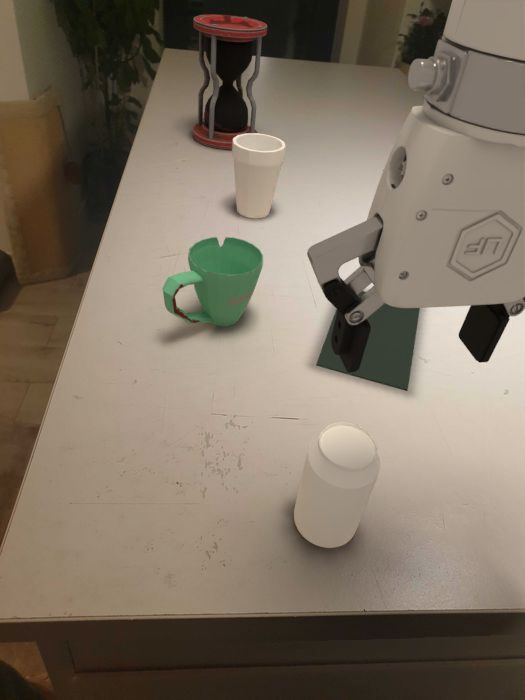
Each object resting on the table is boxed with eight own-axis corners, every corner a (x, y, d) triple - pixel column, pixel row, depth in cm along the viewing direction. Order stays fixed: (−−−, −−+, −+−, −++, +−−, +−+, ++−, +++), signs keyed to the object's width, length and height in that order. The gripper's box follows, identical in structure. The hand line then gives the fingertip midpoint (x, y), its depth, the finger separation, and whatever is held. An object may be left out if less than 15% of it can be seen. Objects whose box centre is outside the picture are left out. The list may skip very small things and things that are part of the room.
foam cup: (279, 204, 105) (288, 137, 96) (274, 225, 98) (283, 155, 89) (232, 197, 105) (236, 130, 97) (224, 217, 98) (228, 147, 90)
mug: (225, 288, 80) (229, 229, 74) (271, 319, 75) (279, 259, 69) (145, 324, 72) (141, 261, 65) (190, 362, 67) (190, 298, 60)
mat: (407, 390, 67) (407, 389, 67) (316, 365, 69) (316, 364, 69) (419, 306, 82) (420, 305, 82) (344, 287, 84) (344, 286, 84)
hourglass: (268, 136, 134) (279, 23, 118) (239, 155, 122) (247, 32, 106) (212, 122, 138) (216, 11, 122) (179, 139, 127) (178, 18, 111)
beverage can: (283, 502, 53) (300, 423, 45) (339, 489, 54) (364, 410, 47) (306, 560, 48) (329, 482, 40) (366, 543, 50) (399, 466, 42)
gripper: (370, 109, 21) (306, 403, 32) (710, 122, 25) (548, 382, 36) (317, 62, 27) (278, 327, 38) (603, 79, 30) (490, 315, 41)
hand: (410, 354), depth 37 cm, fingers open, 9 cm apart
